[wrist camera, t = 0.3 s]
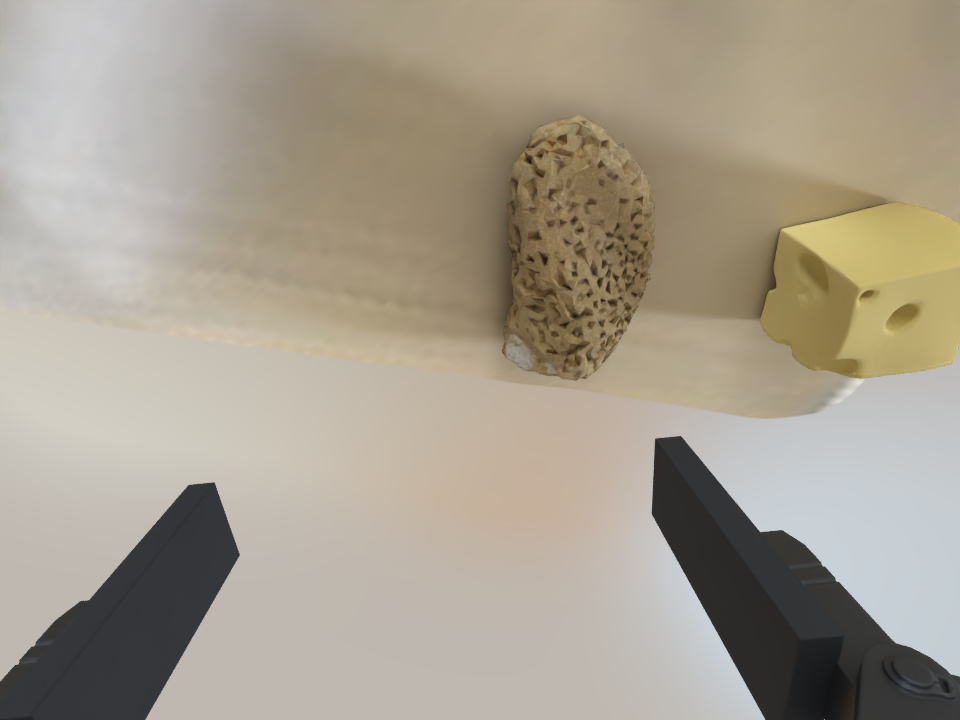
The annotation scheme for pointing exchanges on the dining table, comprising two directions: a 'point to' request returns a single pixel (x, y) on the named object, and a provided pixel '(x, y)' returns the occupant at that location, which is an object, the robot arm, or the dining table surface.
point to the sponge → (575, 248)
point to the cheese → (868, 292)
